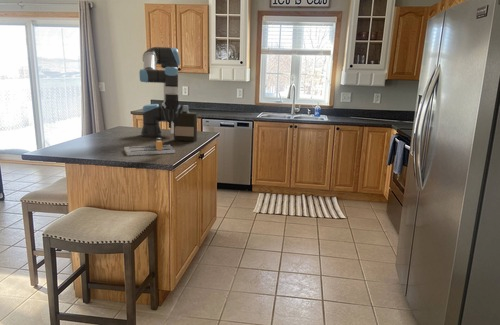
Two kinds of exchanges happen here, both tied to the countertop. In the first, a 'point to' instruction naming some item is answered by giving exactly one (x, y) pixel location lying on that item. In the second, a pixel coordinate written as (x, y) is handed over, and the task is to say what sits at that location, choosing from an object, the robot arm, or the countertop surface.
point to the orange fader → (159, 145)
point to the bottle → (186, 126)
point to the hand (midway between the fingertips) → (172, 133)
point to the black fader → (158, 139)
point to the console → (148, 150)
